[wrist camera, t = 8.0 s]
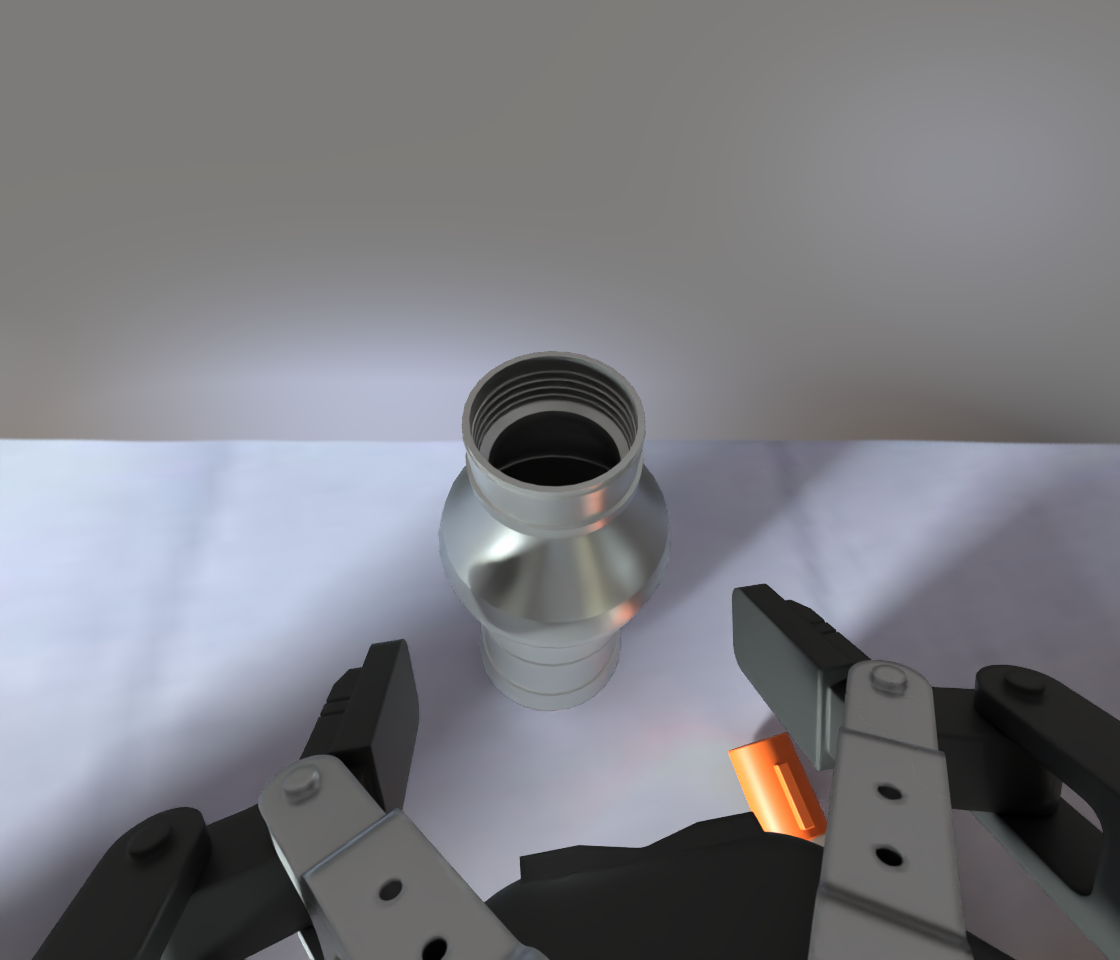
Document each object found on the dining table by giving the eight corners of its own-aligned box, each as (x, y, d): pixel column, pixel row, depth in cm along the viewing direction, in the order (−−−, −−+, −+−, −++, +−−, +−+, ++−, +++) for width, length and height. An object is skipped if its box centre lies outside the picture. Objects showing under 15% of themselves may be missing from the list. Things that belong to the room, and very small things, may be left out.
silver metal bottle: (486, 593, 30) (398, 306, 12) (610, 588, 30) (693, 300, 13) (483, 722, 26) (358, 576, 9) (622, 715, 27) (756, 561, 9)
